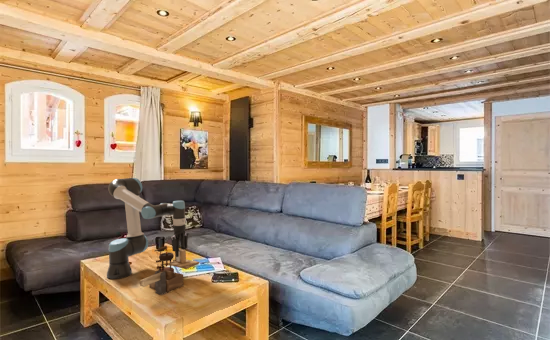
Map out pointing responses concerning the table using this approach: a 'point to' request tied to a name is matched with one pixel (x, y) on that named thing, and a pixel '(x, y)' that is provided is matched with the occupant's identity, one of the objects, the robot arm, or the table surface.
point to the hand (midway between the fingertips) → (180, 260)
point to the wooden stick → (150, 279)
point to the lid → (183, 261)
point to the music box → (164, 259)
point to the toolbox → (167, 282)
